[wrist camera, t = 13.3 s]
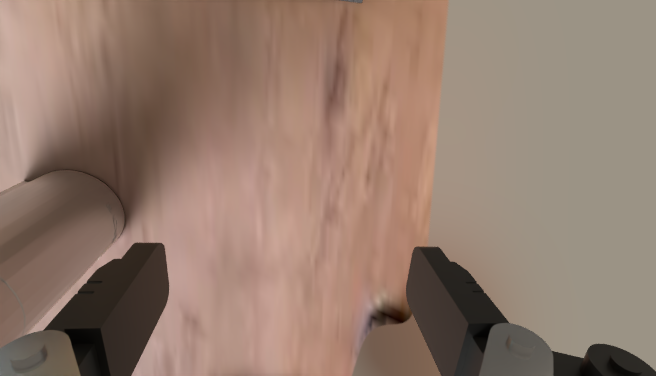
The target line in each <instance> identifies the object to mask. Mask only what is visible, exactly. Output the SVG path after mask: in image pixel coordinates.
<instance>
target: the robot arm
mask: <svg viewBox="0 0 656 376" xmlns="http://www.w3.org/2000/svg"><path fill="white" fill-rule="evenodd" d="M124 224H125V215H124V211H123V207H122V205H121V203H120V201H119V199H118V197H117V196H116V195H115V194H114V192H113V191H112V190H111V189H110V188H109V187H108V186H107V185H106V184H104V183H103V182H101V181H100V180H98V179H97V178H95V177H93V176H90V175H88V174H86V173H82V172H78V171H73V170H59V171H53V172H50V173H47V174H44V175H42V176H40V177H38V178H36V179H34V180H32V181H30V182H25V181H24V182H21V183H19V184H17V185H15V186H13V187H11V188H9V189H6V190H4V191H2V192H0V376H131V375H132V373H133V371H134V369H135V367H136V365H137V363H138V361H139V359H140V357H141V355H142V353H143V351H144V349H145V347H146V345H147V342H148V340H149V338H150V336H151V334H152V332H153V330H154V328H155V326H156V324H157V322H158V320H159V318H160V316H161V314H162V312H163V310H164V308H165V306H166V303H167V300H168V295H169V280H168V272H167V263H166V254H165V248H164V245H163V244H162V243H134V244H133V245H132V246H131V248H130V249H129V250H128V251H127V252H126V254H125V255H124V256H123V257H122V259H113V260H112V261H110V262H109V263H107V264H105V265H104V266H102V267H100V268H99V269H97V270H96V272H95V273H94V274H93V275H92V276H91V277H90V278H89V279H88V281H87V284H84V285H83V286H82V287H81V289H80V290H79V291H78V294H75V295H74V296H73V298H72V299H71V300H70V301H69V302H68V303H67V304H66V305H65V307H64V308H63V309H62V310H61V311H60V312H59V313H58V314H57V316H56V317H55V318H54V319H53V320H52V321H51V322H50V323H49V325H48V326H47V327H46V328H45V329H44V330H43V331H39V332H34V333H31V334H28V335H26V334H27V333H28V332H29V331H30V330H31V329H32V328H33V327H34V326H35V325H36V324H37V323H38V322H39V321H40V320H41V319H42V318H43V317H44V316H45V314H46V313H47V312H48V311H49V310H50V309H51V308H52V307H53V306H54V305H55V304H56V303H57V302H58V301H59V300H60V299H61V298H62V297H63V296H64V295H65V294H66V292H67V291H68V290H69V289H70V288H71V287H72V286H73V285H74V284H75V283H76V282H77V281H78V280H79V279H80V278H81V277H82V276H83V275H84V274H85V273H86V272H87V270H88V269H89V268H90V267H91V266H92V265H93V264H94V263H95V262H96V261H97V260H98V259H99V258H100V257H101V256H102V255H103V254H104V253H105V252H106V250H107V249H108V248H109V247H110V246H111V245H112V244H113V243H114V242H115V241H116V240H117V239H118V238H119V236H120V235H121V233H122V231H123V228H124ZM406 296H407V301H408V304H409V307H410V309H411V311H412V313H413V315H414V317H415V320H416V322H417V324H418V326H419V328H420V330H421V332H422V335H423V337H424V339H425V341H426V343H427V346H428V348H429V350H430V352H431V354H432V356H433V359H434V361H435V363H436V365H437V367H438V369H439V372H440V374H441V376H656V371H655V370H653V369H652V368H651V367H650V366H649V365H648V364H646V363H645V362H644V361H642V360H641V359H640V358H638V357H636V356H635V355H633V354H631V353H629V352H627V351H625V350H623V349H620V348H617V347H614V346H611V345H607V344H594V345H592V346H590V347H589V348H588V350H587V353H586V355H585V357H584V358H580V357H575V356H571V355H567V354H562V353H558V352H554V351H551V349H550V347H549V346H548V345H547V343H546V342H545V341H544V340H543V339H542V338H540V337H539V336H538V335H537V334H535V333H534V332H532V331H530V330H528V329H526V328H524V327H522V326H519V325H515V324H511V323H509V322H508V321H507V319H506V318H505V317H504V316H503V315H502V313H501V312H500V311H499V309H498V308H497V307H496V306H495V305H494V303H493V302H492V301H491V300H490V298H489V297H488V296H487V294H486V293H484V291H483V290H482V288H481V287H480V286H479V285H478V284H477V283H476V281H475V279H474V278H473V277H472V276H471V274H470V273H469V272H468V271H467V270H465V269H464V268H462V267H461V266H460V265H458V264H457V263H455V262H450V261H449V260H448V258H447V257H446V256H445V254H444V253H443V252H442V250H441V249H440V248H439V247H415V248H414V250H413V253H412V258H411V264H410V269H409V274H408V280H407V285H406Z"/></svg>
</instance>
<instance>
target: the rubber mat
mask: <svg viewBox="0 0 656 376" xmlns="http://www.w3.org/2000/svg"><path fill="white" fill-rule="evenodd" d="M341 1H349V2H357V3H362V1H363V0H341Z"/></svg>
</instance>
